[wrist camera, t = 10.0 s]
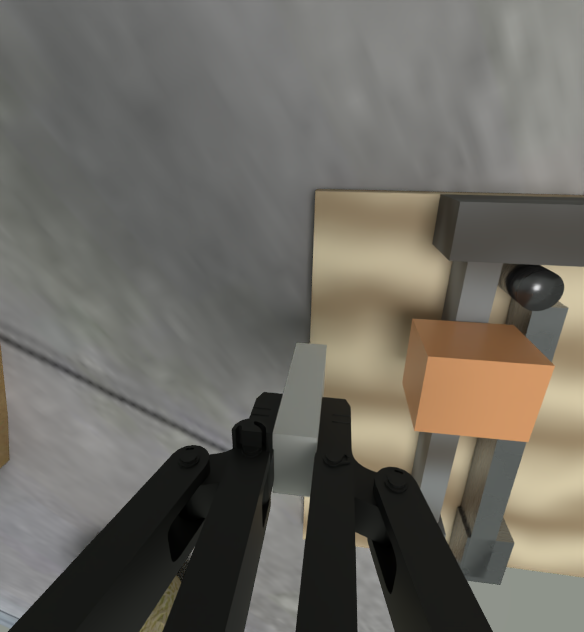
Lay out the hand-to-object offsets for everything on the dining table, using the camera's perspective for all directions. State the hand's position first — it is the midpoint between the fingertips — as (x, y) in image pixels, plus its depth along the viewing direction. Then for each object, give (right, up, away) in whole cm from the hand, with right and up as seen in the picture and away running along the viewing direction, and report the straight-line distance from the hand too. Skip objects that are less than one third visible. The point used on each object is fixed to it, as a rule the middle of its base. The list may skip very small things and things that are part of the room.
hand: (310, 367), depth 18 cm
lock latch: (+8, 0, +1) cm, 8 cm away
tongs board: (+13, -4, +7) cm, 15 cm away
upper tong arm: (+12, -5, +6) cm, 14 cm away
